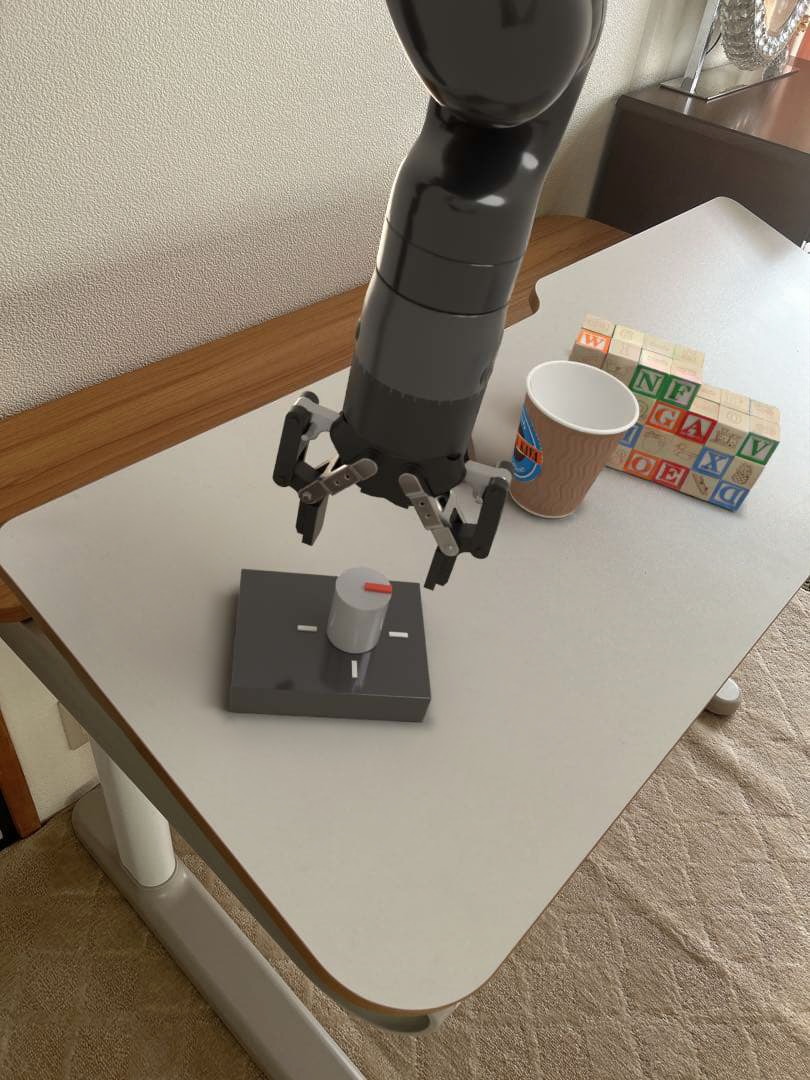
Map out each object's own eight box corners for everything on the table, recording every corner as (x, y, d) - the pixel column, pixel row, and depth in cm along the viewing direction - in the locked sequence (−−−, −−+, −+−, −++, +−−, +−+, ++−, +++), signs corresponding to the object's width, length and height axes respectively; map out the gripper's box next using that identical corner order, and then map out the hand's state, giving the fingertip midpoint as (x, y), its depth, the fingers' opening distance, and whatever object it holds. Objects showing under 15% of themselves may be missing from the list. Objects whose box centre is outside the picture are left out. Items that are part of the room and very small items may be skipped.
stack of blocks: (739, 478, 94) (797, 383, 85) (736, 514, 89) (797, 418, 81) (548, 409, 96) (586, 310, 87) (536, 441, 92) (575, 340, 83)
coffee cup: (483, 454, 88) (517, 353, 80) (580, 464, 90) (623, 367, 82) (499, 527, 81) (537, 424, 73) (604, 536, 83) (653, 437, 75)
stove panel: (228, 712, 62) (231, 686, 60) (238, 593, 70) (241, 566, 68) (423, 722, 65) (432, 697, 63) (412, 606, 72) (420, 581, 70)
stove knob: (324, 650, 64) (334, 603, 60) (327, 607, 67) (337, 560, 63) (379, 656, 64) (392, 610, 61) (380, 614, 67) (393, 567, 63)
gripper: (560, 363, 50) (484, 559, 61) (326, 281, 51) (292, 489, 62) (537, 435, 44) (458, 636, 56) (274, 342, 45) (248, 558, 57)
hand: (371, 558), depth 59 cm, fingers open, 8 cm apart
